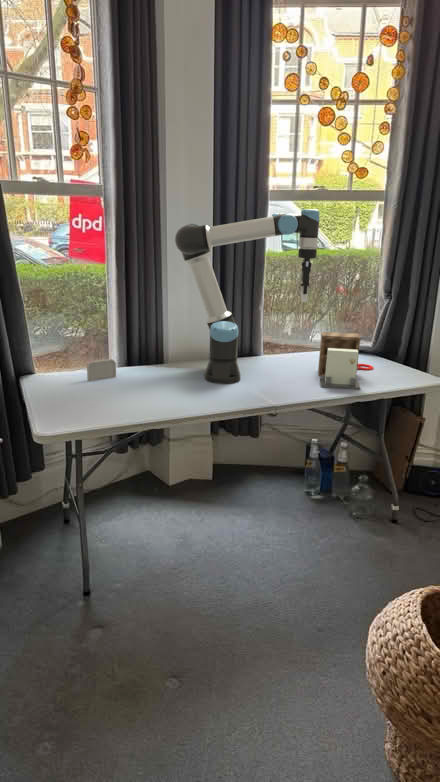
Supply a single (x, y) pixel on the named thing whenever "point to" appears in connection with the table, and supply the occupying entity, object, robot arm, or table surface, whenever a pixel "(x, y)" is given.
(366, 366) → the tow hook
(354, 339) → the cabinet
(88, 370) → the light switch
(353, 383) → the grey pegged base plate
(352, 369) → the door panel
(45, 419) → the table surface
